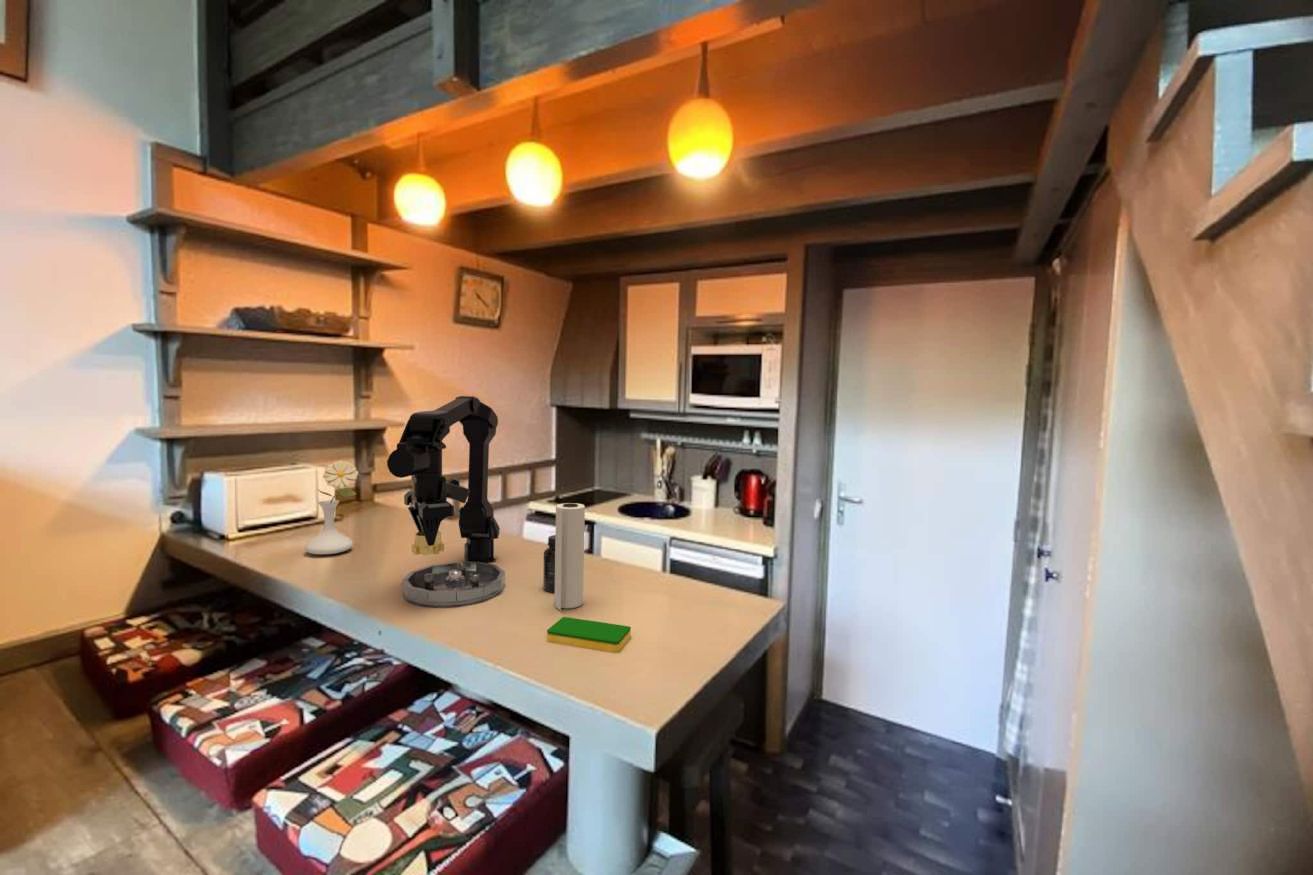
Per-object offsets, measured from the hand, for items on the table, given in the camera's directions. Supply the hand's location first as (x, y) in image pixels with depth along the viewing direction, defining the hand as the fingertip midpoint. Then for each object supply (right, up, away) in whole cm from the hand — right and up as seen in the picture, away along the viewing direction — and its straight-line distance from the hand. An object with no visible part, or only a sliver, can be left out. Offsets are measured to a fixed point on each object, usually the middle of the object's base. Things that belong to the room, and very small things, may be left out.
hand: (428, 542), depth 121 cm
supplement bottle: (+27, -12, +7) cm, 30 cm away
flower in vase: (-38, -8, +30) cm, 49 cm away
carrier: (+4, -11, +4) cm, 13 cm away
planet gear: (0, -2, 0) cm, 2 cm away
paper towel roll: (+31, -13, -3) cm, 33 cm away
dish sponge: (+37, -15, -19) cm, 44 cm away
